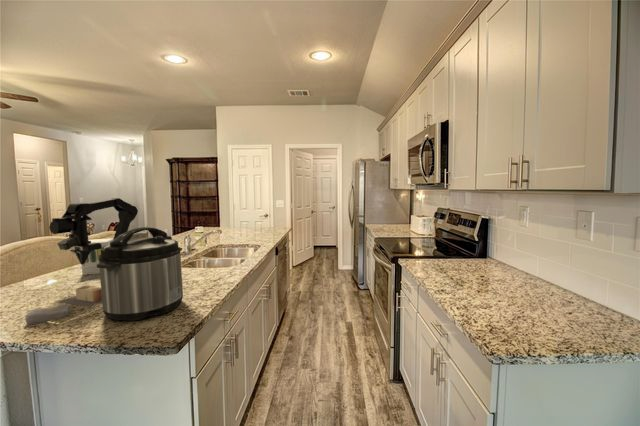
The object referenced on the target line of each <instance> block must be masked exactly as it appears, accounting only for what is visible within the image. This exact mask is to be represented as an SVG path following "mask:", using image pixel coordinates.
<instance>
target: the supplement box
mask: <svg viewBox="0 0 640 426" xmlns="http://www.w3.org/2000/svg"><path fill="white" fill-rule="evenodd" d="M113 238H114V237H111V238H109V237H108V238H96V239H88V241H91V243H94V242H95V243H100V244H101V245H102V247H104V246H107V245H110V242H111V241H112V240H113ZM100 254H101V249H97V250H92V251H91V252H90V254H89V256H88V258H87V260H86V262H85V264H83V265H82V264H81V263H80V265H81V272H82V274H81V275H82V276H87V274H89V275H97V274H99V275H100V268H97V264H98V263H99V255H100Z"/></svg>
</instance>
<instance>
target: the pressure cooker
mask: <svg viewBox="0 0 640 426" xmlns="http://www.w3.org/2000/svg"><path fill="white" fill-rule="evenodd" d="M143 231H147V232H149V234H150V235H151V236H152V237H142V238H135V239H131V238H132V237H133V236H134V235H135V234H138V233H141V232H143ZM182 250H183V247H180V246H179V241H178V240H176V239H173V237H172V236H171V235H168V233H167V232H166V231H163V230H161V229H159V228H155V227H150V226H148V227H147V226H145V227H144V226H143V227H137V228H133V229H132V228H131V229H130V230H129V229H128V231H127V232H125V233H123V234H121V235H119V236H118V237H116V238H115V239H114V240H112V241H111V242H110V245H107V246H104V247H102V248H101V254H100V255H99V263H98V264H97V268H100V273H99V280H100V281H99V282H100V286H101V293H102V302H101V303H102V312H103V314H104V315H105V316H106V318H108V319H109V320H113V321H138V320H143V319H146V318H147V317H152V316H159V315H164V314H167V313H168V312H171V311H172V310H174V309H176V308H177V307H178V306H179V305H180V304H181V303H182V301H183V298H184V291H183V289H184V287H183V271H182V269H183V268H182Z"/></svg>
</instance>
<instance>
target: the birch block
mask: <svg viewBox="0 0 640 426" xmlns="http://www.w3.org/2000/svg"><path fill="white" fill-rule="evenodd" d="M75 296H76V298H77V300H84V301H91V302H98V301H100V300H102V293H101V285H98V284H87V285H84V286H80V287H78V288H75Z"/></svg>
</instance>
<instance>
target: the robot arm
mask: <svg viewBox="0 0 640 426" xmlns="http://www.w3.org/2000/svg"><path fill="white" fill-rule="evenodd" d="M108 208H109V209H110V208H114V210H115V211H117V212H118V214H117V217H118V224H117V227H116V229H115V234H114V236H113V237H112V238H113V240H114V239H115V238H116V237H118V236H119V235H121V234H123V233H125V232H127V231H129V228H130V224H131V223H132V222H133V221H134V220H135V219H136V217H137V215H138V212H139V211H138V208H137V207H136V206H135V205H132V204H131V203H129V202H126V201H125V200H123V199H121V198H119V197H114V198H113V197H111V198H109V199H105V200H104V199H103V200H99V201H94V202H83V203H82V202H81V203H80V202H79V203H70V204H68V206H67V208H66V211H65V212H64V214H63V215H62V216H61V217H59V218H58V217H57V218H56V217H54V218H52V219H51V220H52V221H51V222H50V225H49V231H50V233H51V234H52V235H59V234H66V233H67V234H68V233H69V235H68V237H67V238H65V239H64V238H63V240H61V241H59V242H57V246H58V247H59V250H60V251H62V250H64V251H69V252H71V253H73V254H74V255H75V256H76V257H77V259H78V261H79V263H80V265H81V264H82V265H83V264H85V262H86V260H87V258H88V256H89V254H90V252H91V251H92V250H97V249H101V248H102V245H101V244H100V243H95V242H94V243H91V241H88V240H89V235H91V232H90V231H89V230H88V221H92V217H90V216H89V215H90V214H92V213H93V212H95V211H99V210H100V211H101V210H104V209H108ZM70 232H71V233H70ZM82 265H81V266H82Z"/></svg>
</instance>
